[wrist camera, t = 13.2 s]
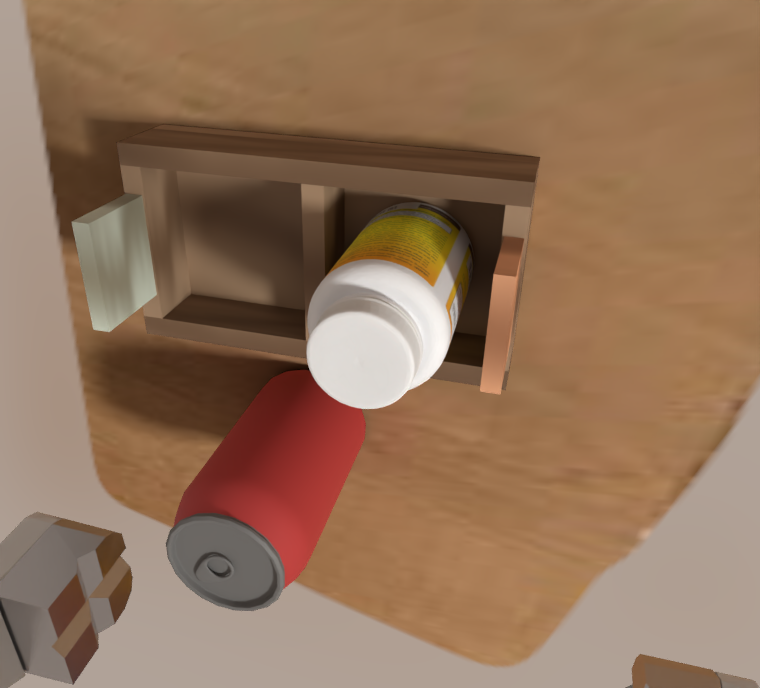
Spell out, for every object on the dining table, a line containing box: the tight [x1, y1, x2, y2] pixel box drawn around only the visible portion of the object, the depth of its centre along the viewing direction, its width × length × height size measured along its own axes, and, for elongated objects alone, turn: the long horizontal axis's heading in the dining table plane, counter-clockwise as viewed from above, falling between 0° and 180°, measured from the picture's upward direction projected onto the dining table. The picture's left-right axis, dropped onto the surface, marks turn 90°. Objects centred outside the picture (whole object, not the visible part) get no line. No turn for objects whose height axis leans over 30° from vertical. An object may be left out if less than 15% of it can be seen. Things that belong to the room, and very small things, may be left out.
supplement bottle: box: [306, 202, 474, 409], centre depth 28 cm, size 6×6×10 cm
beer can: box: [166, 370, 366, 611], centre depth 35 cm, size 7×7×12 cm
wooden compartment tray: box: [72, 124, 540, 394], centre depth 31 cm, size 10×18×8 cm, turn 88°
